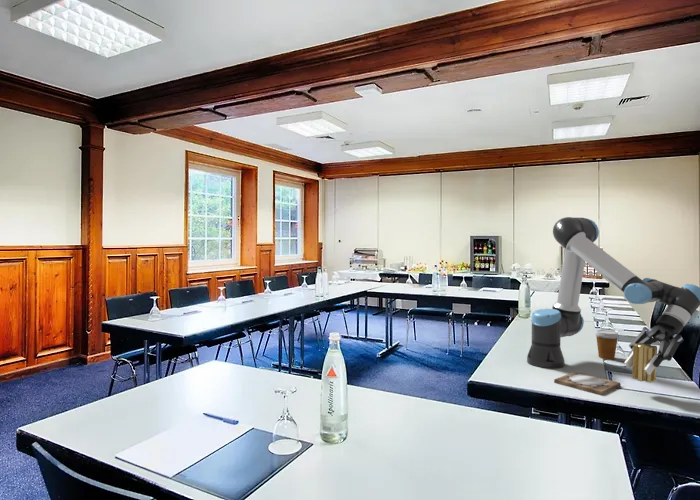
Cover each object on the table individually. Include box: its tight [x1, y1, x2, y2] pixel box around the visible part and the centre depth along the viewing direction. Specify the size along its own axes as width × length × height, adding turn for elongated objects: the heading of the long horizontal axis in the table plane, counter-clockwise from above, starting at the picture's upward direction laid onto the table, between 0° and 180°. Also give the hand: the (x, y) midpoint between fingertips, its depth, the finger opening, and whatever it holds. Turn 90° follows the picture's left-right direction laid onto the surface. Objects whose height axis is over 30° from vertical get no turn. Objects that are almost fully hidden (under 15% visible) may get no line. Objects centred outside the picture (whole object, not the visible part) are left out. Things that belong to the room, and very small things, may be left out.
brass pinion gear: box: [631, 343, 658, 383], centre depth 156 cm, size 7×7×12 cm
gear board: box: [553, 371, 622, 396], centre depth 167 cm, size 17×16×2 cm
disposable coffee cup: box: [594, 329, 620, 360], centre depth 204 cm, size 10×10×12 cm
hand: (636, 368), depth 155 cm, fingers closed on brass pinion gear, 7 cm apart
